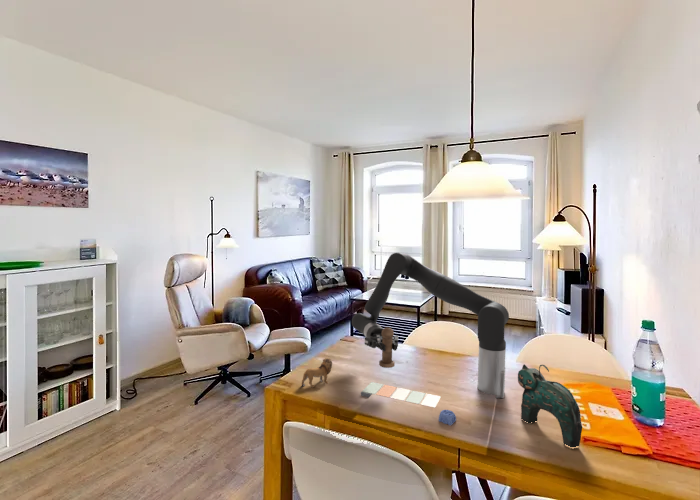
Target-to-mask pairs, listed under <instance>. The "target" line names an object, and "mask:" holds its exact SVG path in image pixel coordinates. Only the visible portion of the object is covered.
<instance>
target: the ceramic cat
mask: <svg viewBox="0 0 700 500" xmlns="http://www.w3.org/2000/svg"><path fill="white" fill-rule="evenodd" d="M541 367H544V368H545V370H546V371H547V372H550V370H549V368H548V367H547V366H546V365H545V364H540V365H539V368H538V369H537V368H533V367H530V368H528V366H527V365H526V364H523V365H522V368H521V369H520V370H519V371H518V373H517V382H518V384H519V386H520V387H521V388H523V393H522V397H521V404H520V408H521V409H520V410H521V414H520V420H521V419H523V420H524V421H526V422H528V423H531V422H535V421H537V422H538V414H539V412H540V411H541V410H542V411H546V412H548V413H550V414H551V415H552V416H554V418H555V419H556V420H557V422H558V424H559V427H560V430H561V436H562V442H563V443H564V444H566V445H568V446H570V447H576V446H579V447H580V445H581V444H580V443H581V438H582V432H583V424H582V419H581V418H582V417H581V411H580V407H579V404H578V403H577V400H576V399H575V397H574V395H573V393H572V392H571V391H570V389H568V388H567V387H566V386H565V385H563V384H561V383H560V382H559V381H551V380H548V379H547V380H546V377H544V375H543V374H542V373H541ZM523 420H522V421H523ZM524 421H523V422H524ZM526 422H525V423H526ZM528 423H527V424H528ZM563 443H562V444H563Z"/></svg>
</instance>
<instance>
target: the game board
mask: <svg viewBox="0 0 700 500" xmlns="http://www.w3.org/2000/svg"><path fill="white" fill-rule="evenodd" d="M360 395H361V396H362V397H366V398H370V397H371V396H372V395H376V396H381V397H384V398H391V399H395V400H398V401H405V402H408V403H412V404H417V405H421V406H425V407H430V408H434V409H435V408H436V407H437V405H438V403H439V402H440V399H441V397H442V396H440V395H436V394H430V393H426V392H421V391H417V390H411V389H408V388H402V387H397V386H392V385H388V384H384V383H378V382H374V381H370V382H369V384H368V385H366V387H365V388H363V390H362V391H360Z"/></svg>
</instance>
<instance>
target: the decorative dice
mask: <svg viewBox="0 0 700 500" xmlns="http://www.w3.org/2000/svg"><path fill="white" fill-rule="evenodd" d="M456 421H457V416H456V413H454V411H452V410H449V409H442V410H441V411H440V412H439V415H438V422H440V423H442V424H445V425H448V426H452V425H453V424H454V423H455V422H456Z"/></svg>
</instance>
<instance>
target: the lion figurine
mask: <svg viewBox="0 0 700 500" xmlns="http://www.w3.org/2000/svg"><path fill="white" fill-rule="evenodd" d="M332 368H333V360H332V358H331V357H325V358H323V359H322V362H321V364H320V366H318V367H314V368H313V367H311V368H310V367H309V368H307V369H306V370H305V371H304V373H303V376H302V380H301V386H300V388H301V389H302V388H303V387H305V386H306V384H305V382H306V381H307V380H308V384H309V385H310V387H311V388H315V387H316V386H315V384H313V380H314V378H319V382H321V383H322V382H324V384H328V382H329V381H327V380H328V379H327V378H328V375H329V374H330V373H331V371H332Z"/></svg>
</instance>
